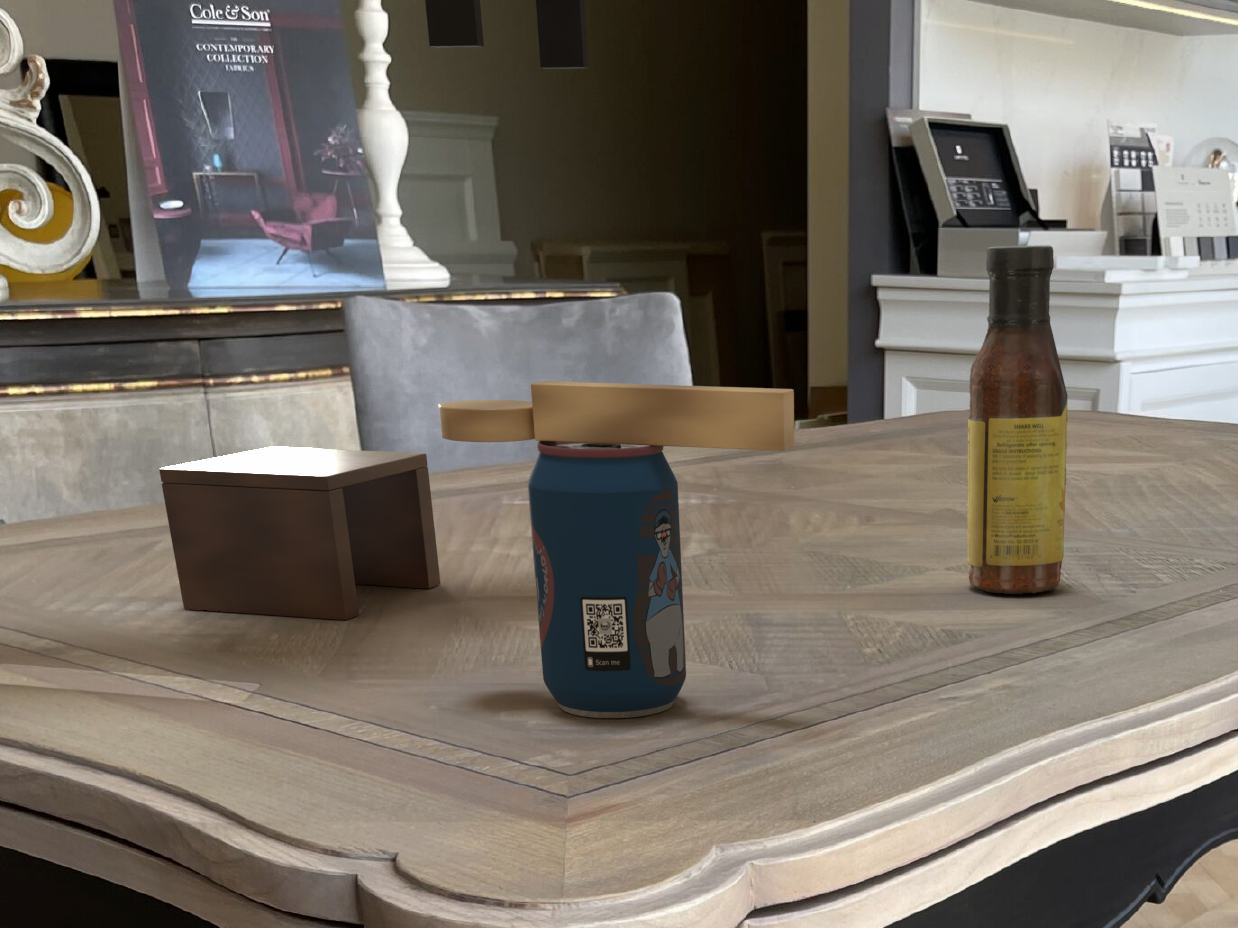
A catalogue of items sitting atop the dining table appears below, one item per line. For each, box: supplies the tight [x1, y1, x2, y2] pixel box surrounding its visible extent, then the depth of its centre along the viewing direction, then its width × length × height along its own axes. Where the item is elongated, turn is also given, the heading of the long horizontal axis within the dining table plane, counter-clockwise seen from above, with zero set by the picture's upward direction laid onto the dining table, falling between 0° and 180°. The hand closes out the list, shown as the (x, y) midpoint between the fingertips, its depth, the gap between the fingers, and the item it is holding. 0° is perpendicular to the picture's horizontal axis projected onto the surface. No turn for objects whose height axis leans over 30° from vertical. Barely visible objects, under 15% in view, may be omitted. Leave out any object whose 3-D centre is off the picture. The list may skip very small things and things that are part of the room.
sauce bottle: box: [967, 244, 1069, 595], centre depth 106 cm, size 7×6×20 cm
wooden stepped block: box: [438, 380, 795, 452], centre depth 77 cm, size 17×5×2 cm, turn 75°
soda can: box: [527, 441, 687, 719], centre depth 81 cm, size 7×7×12 cm
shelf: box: [159, 446, 442, 621], centre depth 105 cm, size 11×12×8 cm
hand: (514, 58), depth 93 cm, fingers open, 13 cm apart
